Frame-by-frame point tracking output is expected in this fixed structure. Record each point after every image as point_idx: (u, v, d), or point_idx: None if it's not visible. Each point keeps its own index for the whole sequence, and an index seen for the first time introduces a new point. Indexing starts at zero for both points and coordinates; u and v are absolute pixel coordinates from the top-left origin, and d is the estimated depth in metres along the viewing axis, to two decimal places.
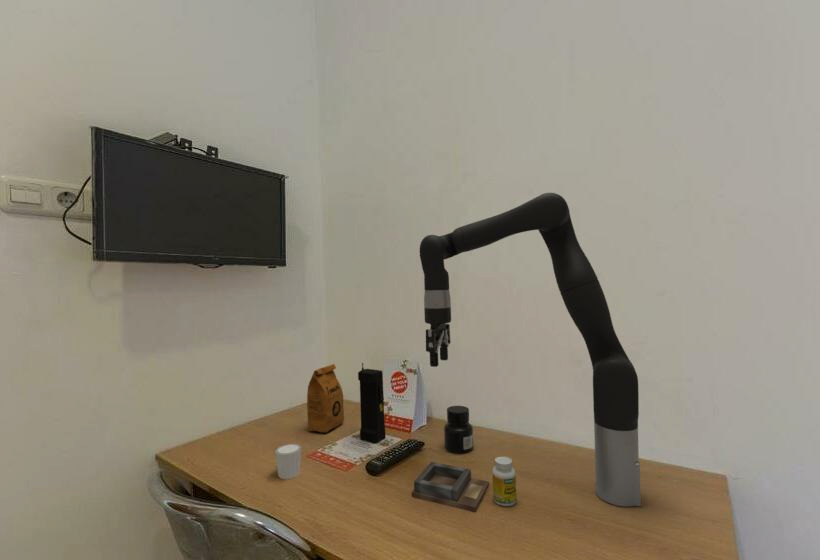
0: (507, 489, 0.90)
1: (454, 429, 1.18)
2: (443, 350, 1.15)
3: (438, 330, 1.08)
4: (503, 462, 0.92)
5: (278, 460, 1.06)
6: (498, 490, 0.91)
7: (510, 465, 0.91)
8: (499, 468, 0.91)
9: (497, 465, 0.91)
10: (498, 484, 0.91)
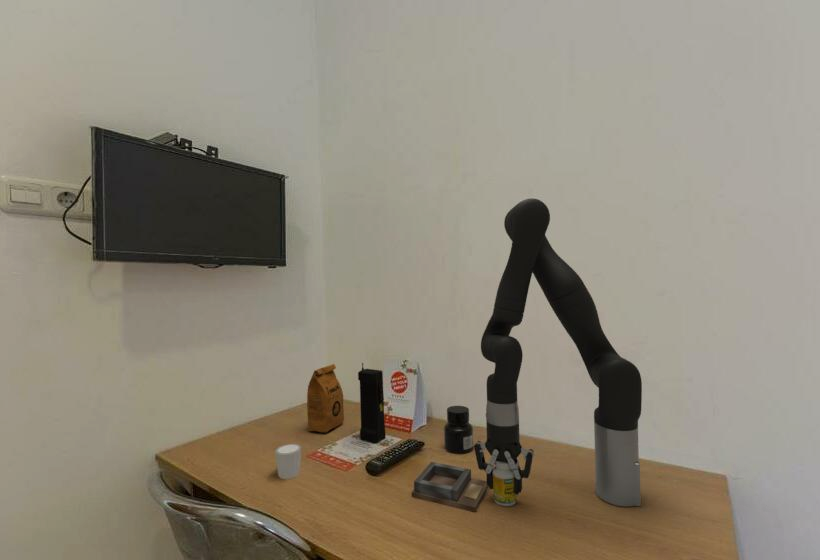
0: (508, 489, 0.90)
1: (454, 429, 1.18)
2: None
3: None
4: (503, 462, 0.92)
5: (278, 460, 1.06)
6: (498, 490, 0.91)
7: None
8: (499, 468, 0.91)
9: (498, 465, 0.91)
10: (499, 484, 0.91)
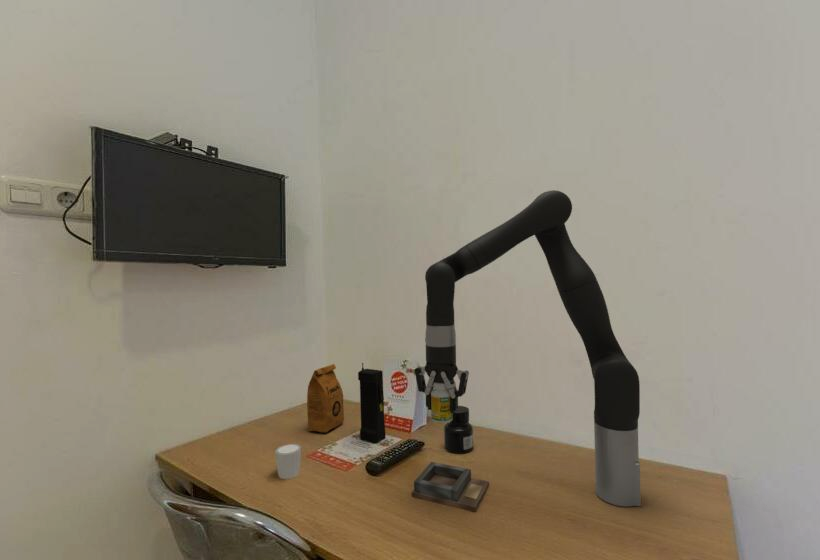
0: (443, 407, 0.95)
1: (454, 429, 1.18)
2: None
3: None
4: (440, 383, 0.97)
5: (278, 460, 1.06)
6: (434, 408, 0.96)
7: None
8: (436, 388, 0.97)
9: (435, 385, 0.97)
10: (435, 403, 0.96)
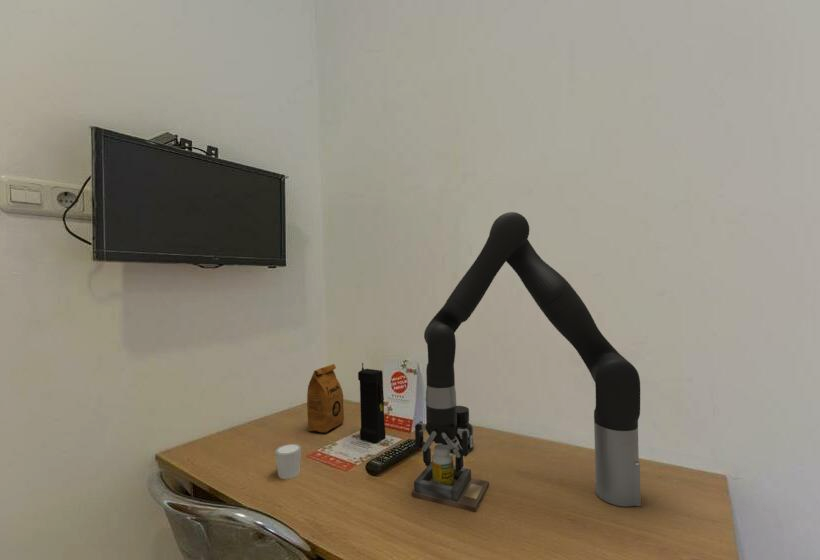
0: (444, 474, 0.96)
1: None
2: (429, 453, 1.00)
3: None
4: (441, 449, 0.97)
5: (278, 460, 1.06)
6: (436, 475, 0.96)
7: (447, 451, 0.97)
8: (437, 454, 0.97)
9: (436, 451, 0.97)
10: (436, 470, 0.96)
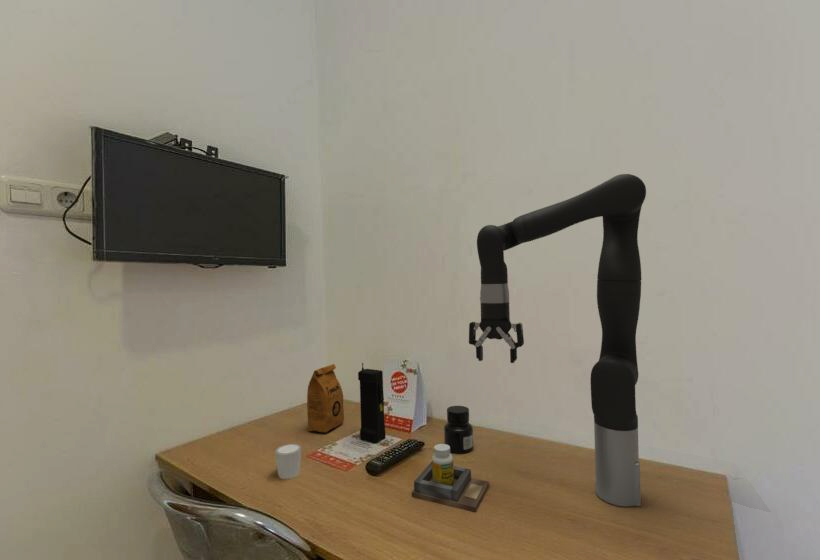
0: (444, 474, 0.96)
1: (454, 429, 1.18)
2: (481, 349, 1.07)
3: None
4: (441, 449, 0.97)
5: (278, 460, 1.06)
6: (436, 475, 0.96)
7: (447, 451, 0.97)
8: (437, 454, 0.97)
9: (436, 451, 0.97)
10: (436, 470, 0.96)
